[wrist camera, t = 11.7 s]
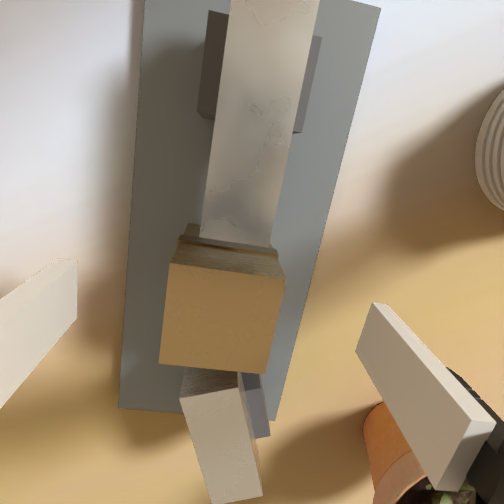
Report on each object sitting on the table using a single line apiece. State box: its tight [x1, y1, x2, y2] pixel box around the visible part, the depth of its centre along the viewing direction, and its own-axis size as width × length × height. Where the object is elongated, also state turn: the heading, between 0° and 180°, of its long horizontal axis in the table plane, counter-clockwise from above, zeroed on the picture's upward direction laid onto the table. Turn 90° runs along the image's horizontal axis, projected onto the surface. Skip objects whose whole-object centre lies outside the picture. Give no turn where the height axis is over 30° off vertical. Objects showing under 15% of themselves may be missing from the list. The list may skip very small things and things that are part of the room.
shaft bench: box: [118, 0, 381, 439], centre depth 19 cm, size 28×12×4 cm, turn 170°
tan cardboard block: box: [159, 223, 287, 374], centre depth 18 cm, size 5×5×7 cm
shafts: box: [179, 0, 320, 504], centre depth 16 cm, size 27×6×3 cm, turn 170°
